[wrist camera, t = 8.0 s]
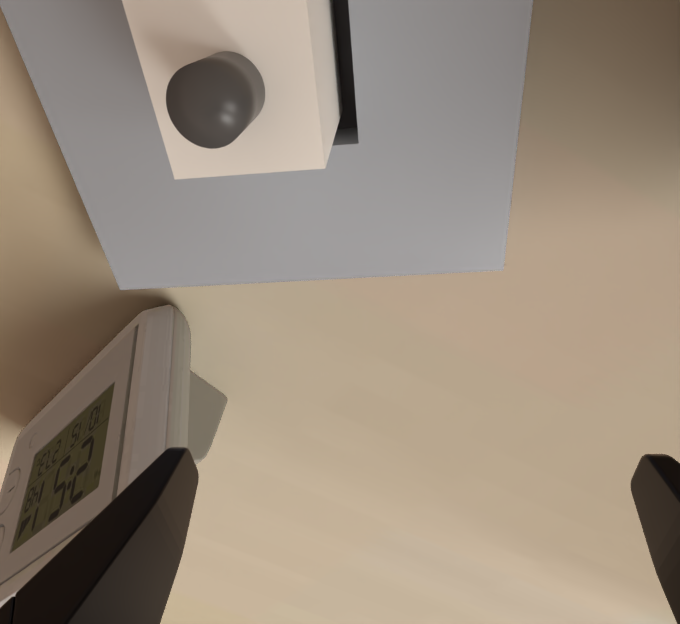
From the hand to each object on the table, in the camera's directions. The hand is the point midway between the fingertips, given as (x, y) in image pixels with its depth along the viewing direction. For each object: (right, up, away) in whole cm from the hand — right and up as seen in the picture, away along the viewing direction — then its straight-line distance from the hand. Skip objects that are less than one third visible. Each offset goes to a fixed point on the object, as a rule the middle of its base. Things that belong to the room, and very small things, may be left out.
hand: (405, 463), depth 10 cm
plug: (-3, +12, +7) cm, 15 cm away
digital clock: (-14, -2, +18) cm, 23 cm away
